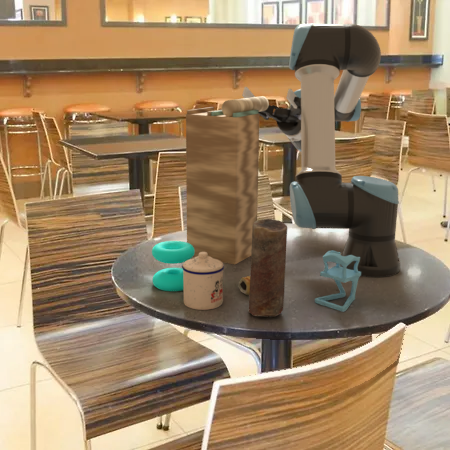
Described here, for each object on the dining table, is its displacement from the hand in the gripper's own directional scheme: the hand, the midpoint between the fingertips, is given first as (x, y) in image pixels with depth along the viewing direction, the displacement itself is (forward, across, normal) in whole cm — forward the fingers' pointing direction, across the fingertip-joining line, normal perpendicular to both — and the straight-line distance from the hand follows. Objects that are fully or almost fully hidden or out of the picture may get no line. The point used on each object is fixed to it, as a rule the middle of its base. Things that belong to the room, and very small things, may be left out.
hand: (266, 92), depth 180 cm
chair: (+8, -36, -54) cm, 66 cm away
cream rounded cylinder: (+9, 0, -10) cm, 14 cm away
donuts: (+17, +1, -59) cm, 62 cm away
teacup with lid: (+21, -10, -61) cm, 66 cm away
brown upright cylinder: (+20, -26, -61) cm, 69 cm away
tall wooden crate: (-6, +4, -46) cm, 46 cm away
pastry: (+10, -17, -56) cm, 59 cm away
